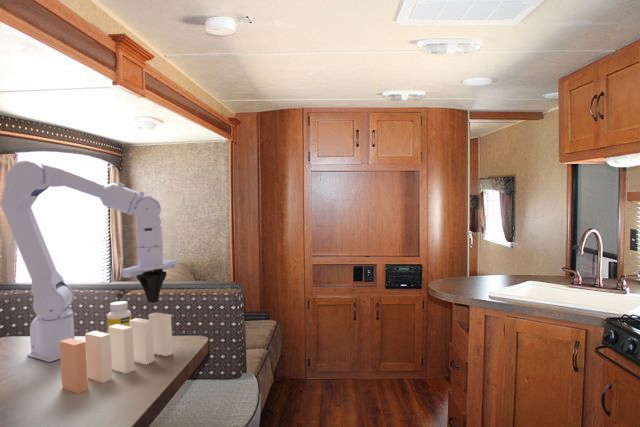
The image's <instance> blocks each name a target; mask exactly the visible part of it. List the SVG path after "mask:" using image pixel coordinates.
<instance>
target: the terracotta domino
mask: <svg viewBox="0 0 640 427" xmlns="http://www.w3.org/2000/svg"><path fill="white" fill-rule="evenodd" d="M60 357H61V358H60V371H61V388H62V389H63V390H66V391H69V392H72V393H74V394H77V395H78V394H81V393H83V392H85V391H88V390H89V386H88V385H89V384H88V383H89V382H88V380H89V379H88V377H87V359H86V341H83V340H79V339H72V338H69V339H65V340H62V341H60Z"/></svg>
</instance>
